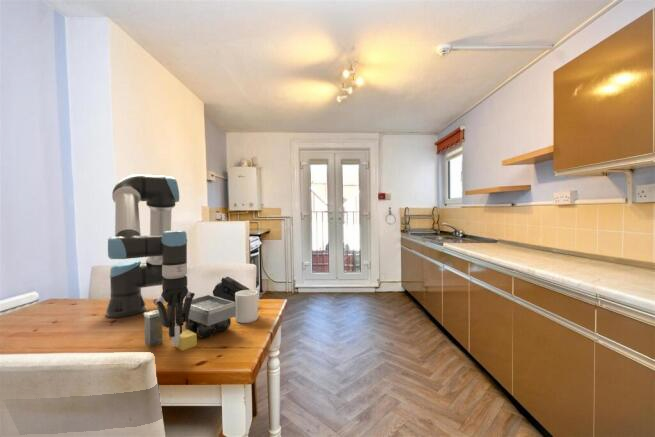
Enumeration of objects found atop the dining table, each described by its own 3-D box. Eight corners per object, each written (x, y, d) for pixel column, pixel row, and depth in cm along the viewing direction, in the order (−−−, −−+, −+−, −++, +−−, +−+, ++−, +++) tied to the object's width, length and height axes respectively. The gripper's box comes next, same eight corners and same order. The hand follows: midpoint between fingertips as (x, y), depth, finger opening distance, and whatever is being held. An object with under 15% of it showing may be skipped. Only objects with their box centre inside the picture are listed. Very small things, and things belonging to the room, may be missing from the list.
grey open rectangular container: (179, 331, 113) (179, 302, 113) (209, 321, 124) (209, 294, 123) (206, 343, 103) (206, 311, 102) (236, 330, 113) (236, 301, 113)
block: (174, 345, 101) (174, 334, 101) (188, 340, 105) (188, 329, 105) (182, 350, 97) (182, 338, 97) (196, 345, 101) (196, 333, 101)
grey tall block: (144, 343, 103) (143, 312, 102) (157, 339, 106) (156, 309, 106) (150, 346, 100) (149, 315, 100) (163, 342, 104) (162, 311, 103)
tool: (209, 299, 145) (224, 273, 145) (243, 317, 146) (258, 291, 146) (205, 303, 138) (221, 276, 139) (240, 321, 140) (256, 295, 140)
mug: (231, 322, 122) (231, 295, 122) (244, 312, 134) (244, 287, 133) (251, 324, 120) (251, 296, 120) (263, 314, 132) (263, 288, 132)
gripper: (160, 281, 91) (161, 355, 91) (199, 274, 101) (199, 340, 102) (149, 278, 95) (150, 349, 95) (187, 271, 106) (188, 335, 106)
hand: (175, 344), depth 99 cm, fingers closed
